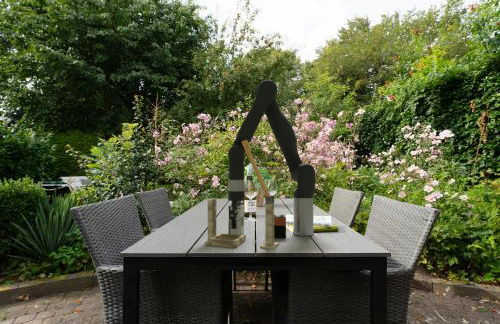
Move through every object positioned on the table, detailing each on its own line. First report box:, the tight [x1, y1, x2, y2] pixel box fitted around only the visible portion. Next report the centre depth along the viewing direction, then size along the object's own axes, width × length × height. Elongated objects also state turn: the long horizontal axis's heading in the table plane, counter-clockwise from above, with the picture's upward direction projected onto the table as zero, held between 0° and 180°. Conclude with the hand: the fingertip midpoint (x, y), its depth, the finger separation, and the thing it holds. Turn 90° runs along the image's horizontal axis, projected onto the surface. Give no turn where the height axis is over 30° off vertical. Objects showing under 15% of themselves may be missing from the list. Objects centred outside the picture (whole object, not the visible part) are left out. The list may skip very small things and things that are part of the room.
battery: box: [274, 214, 287, 239], centre depth 142 cm, size 4×7×10 cm, turn 82°
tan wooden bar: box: [242, 140, 271, 197], centre depth 128 cm, size 4×26×2 cm
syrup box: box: [227, 205, 245, 235], centre depth 142 cm, size 6×6×14 cm
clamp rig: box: [204, 194, 280, 250], centre depth 129 cm, size 12×30×20 cm, turn 73°
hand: (236, 227), depth 142 cm, fingers closed on syrup box, 6 cm apart
